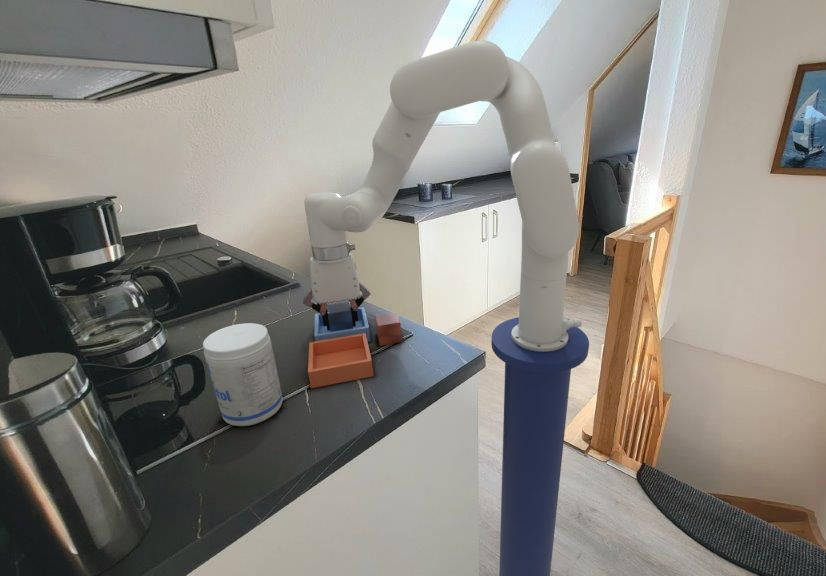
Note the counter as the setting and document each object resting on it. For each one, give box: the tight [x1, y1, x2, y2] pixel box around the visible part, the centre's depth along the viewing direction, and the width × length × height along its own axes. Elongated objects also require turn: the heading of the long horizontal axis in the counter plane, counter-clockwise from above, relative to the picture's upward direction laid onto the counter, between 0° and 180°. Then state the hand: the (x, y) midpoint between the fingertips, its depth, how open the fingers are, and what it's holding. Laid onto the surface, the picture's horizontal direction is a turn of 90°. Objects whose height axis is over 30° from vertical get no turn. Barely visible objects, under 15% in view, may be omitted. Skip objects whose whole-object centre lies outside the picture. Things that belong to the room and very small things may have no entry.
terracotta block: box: [374, 312, 403, 346], centre depth 92 cm, size 5×5×5 cm
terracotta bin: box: [307, 333, 374, 389], centre depth 82 cm, size 12×12×4 cm
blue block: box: [326, 301, 353, 332], centre depth 93 cm, size 5×5×5 cm
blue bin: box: [313, 306, 371, 343], centre depth 94 cm, size 12×12×4 cm
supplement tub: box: [202, 322, 284, 427], centre depth 67 cm, size 10×10×15 cm
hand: (341, 325), depth 94 cm, fingers closed on blue block, 5 cm apart
